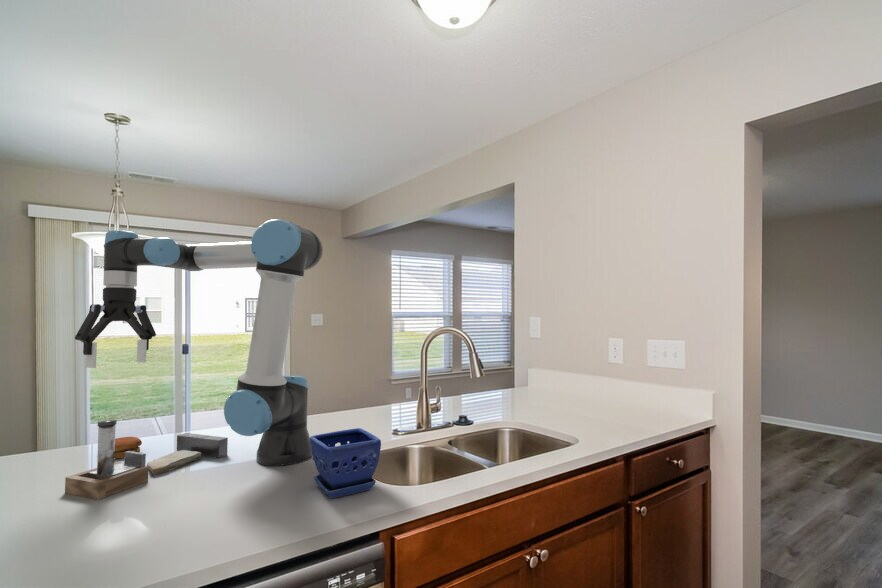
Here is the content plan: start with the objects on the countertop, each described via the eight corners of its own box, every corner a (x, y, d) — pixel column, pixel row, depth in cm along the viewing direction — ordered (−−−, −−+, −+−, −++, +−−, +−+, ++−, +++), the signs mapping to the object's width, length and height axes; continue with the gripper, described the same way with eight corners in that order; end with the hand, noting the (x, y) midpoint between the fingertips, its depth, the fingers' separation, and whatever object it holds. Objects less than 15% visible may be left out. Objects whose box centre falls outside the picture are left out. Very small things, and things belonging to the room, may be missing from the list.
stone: (155, 478, 111) (155, 468, 111) (128, 472, 115) (128, 462, 115) (207, 460, 125) (207, 451, 125) (180, 455, 129) (181, 446, 129)
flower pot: (325, 505, 94) (326, 448, 95) (308, 485, 106) (308, 434, 106) (382, 492, 101) (382, 439, 102) (360, 474, 113) (361, 426, 113)
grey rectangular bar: (227, 455, 128) (227, 437, 128) (218, 458, 125) (219, 440, 125) (185, 449, 133) (186, 432, 134) (176, 452, 131) (177, 435, 131)
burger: (134, 458, 126) (135, 441, 126) (95, 462, 123) (95, 444, 123) (145, 448, 135) (145, 433, 135) (109, 451, 132) (109, 436, 132)
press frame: (148, 481, 108) (148, 466, 108) (98, 499, 97) (98, 483, 97) (116, 475, 112) (117, 461, 112) (64, 493, 101) (65, 477, 101)
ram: (146, 474, 110) (148, 415, 111) (107, 487, 101) (109, 424, 102) (126, 470, 112) (128, 413, 113) (86, 484, 103) (88, 421, 104)
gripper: (152, 289, 136) (150, 359, 135) (59, 284, 112) (56, 369, 111) (171, 289, 133) (168, 360, 132) (79, 284, 110) (76, 370, 109)
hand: (117, 364), depth 122 cm, fingers open, 13 cm apart
